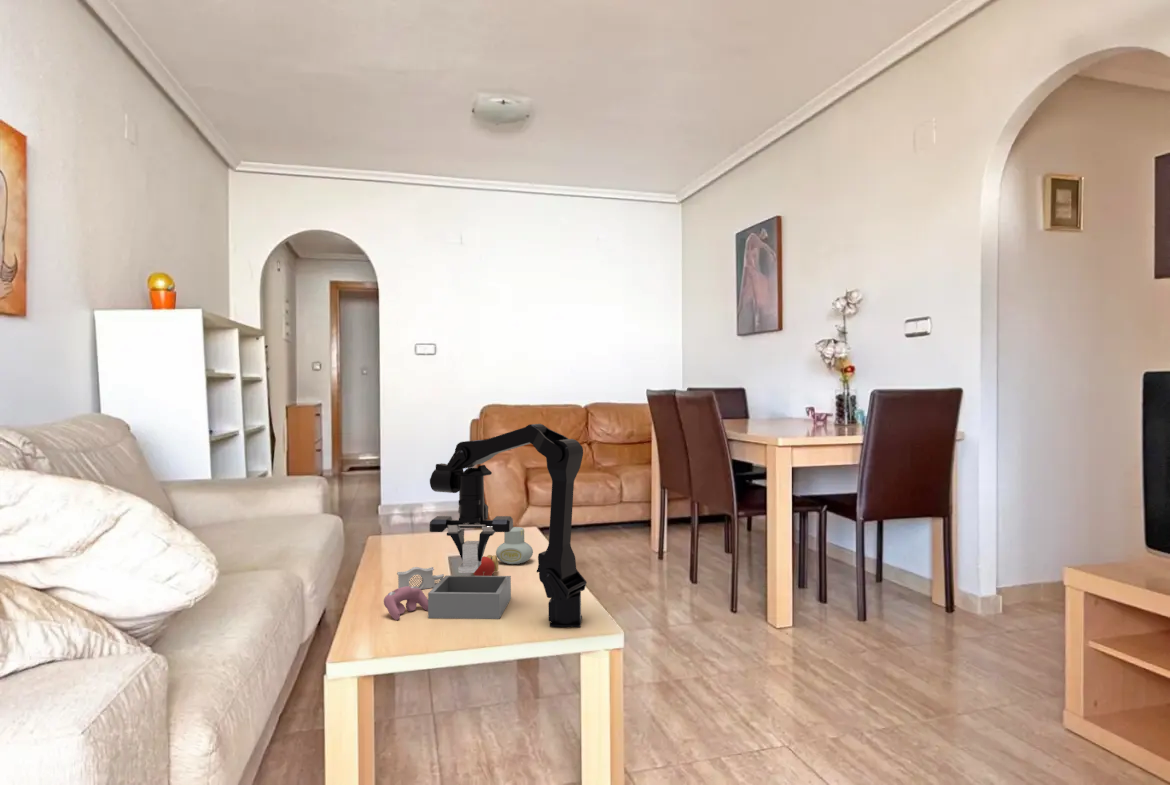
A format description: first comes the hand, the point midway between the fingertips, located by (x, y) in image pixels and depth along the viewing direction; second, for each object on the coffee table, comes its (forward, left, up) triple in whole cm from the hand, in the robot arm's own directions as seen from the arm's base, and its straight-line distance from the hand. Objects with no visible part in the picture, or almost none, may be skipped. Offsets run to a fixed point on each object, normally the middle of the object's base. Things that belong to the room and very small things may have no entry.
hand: (472, 560), depth 158 cm
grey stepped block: (0, +2, -1) cm, 2 cm away
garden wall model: (+17, -14, -11) cm, 24 cm away
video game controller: (+14, +5, -11) cm, 18 cm away
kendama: (+3, -31, -11) cm, 33 cm away
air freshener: (-3, -43, -11) cm, 44 cm away
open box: (0, +1, -11) cm, 11 cm away
